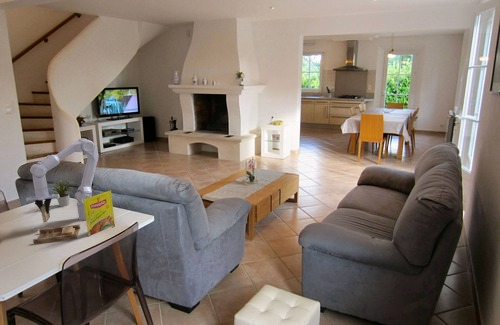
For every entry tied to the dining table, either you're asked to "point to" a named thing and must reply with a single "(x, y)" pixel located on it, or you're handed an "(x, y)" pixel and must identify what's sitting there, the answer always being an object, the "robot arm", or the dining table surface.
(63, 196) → the house plant
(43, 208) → the birch sheet
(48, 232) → the walnut rack
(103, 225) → the food package
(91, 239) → the dining table surface
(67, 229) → the oak offcut stack
